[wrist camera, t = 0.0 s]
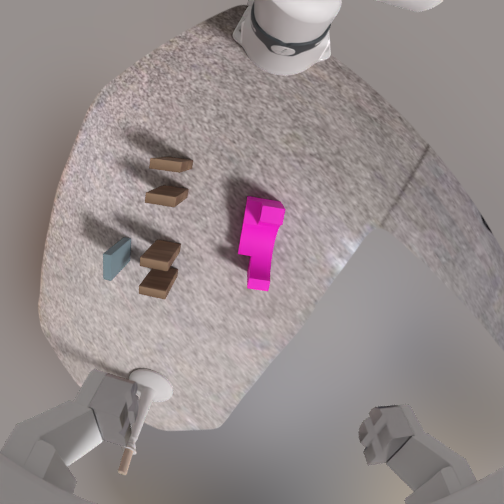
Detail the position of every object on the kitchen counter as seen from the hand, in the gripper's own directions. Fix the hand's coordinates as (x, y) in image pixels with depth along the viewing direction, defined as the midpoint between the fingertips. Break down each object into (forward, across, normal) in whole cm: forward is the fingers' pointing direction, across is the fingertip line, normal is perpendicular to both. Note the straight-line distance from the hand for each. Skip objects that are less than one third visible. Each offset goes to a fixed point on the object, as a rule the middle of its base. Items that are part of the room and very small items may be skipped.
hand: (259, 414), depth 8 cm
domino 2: (+47, +14, -4) cm, 49 cm away
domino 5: (+47, +14, +18) cm, 53 cm away
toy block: (+48, -3, +8) cm, 48 cm away
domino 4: (+47, +14, +13) cm, 51 cm away
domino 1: (+47, +23, +15) cm, 55 cm away
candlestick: (+48, +17, +54) cm, 74 cm away
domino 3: (+47, +14, +2) cm, 49 cm away
